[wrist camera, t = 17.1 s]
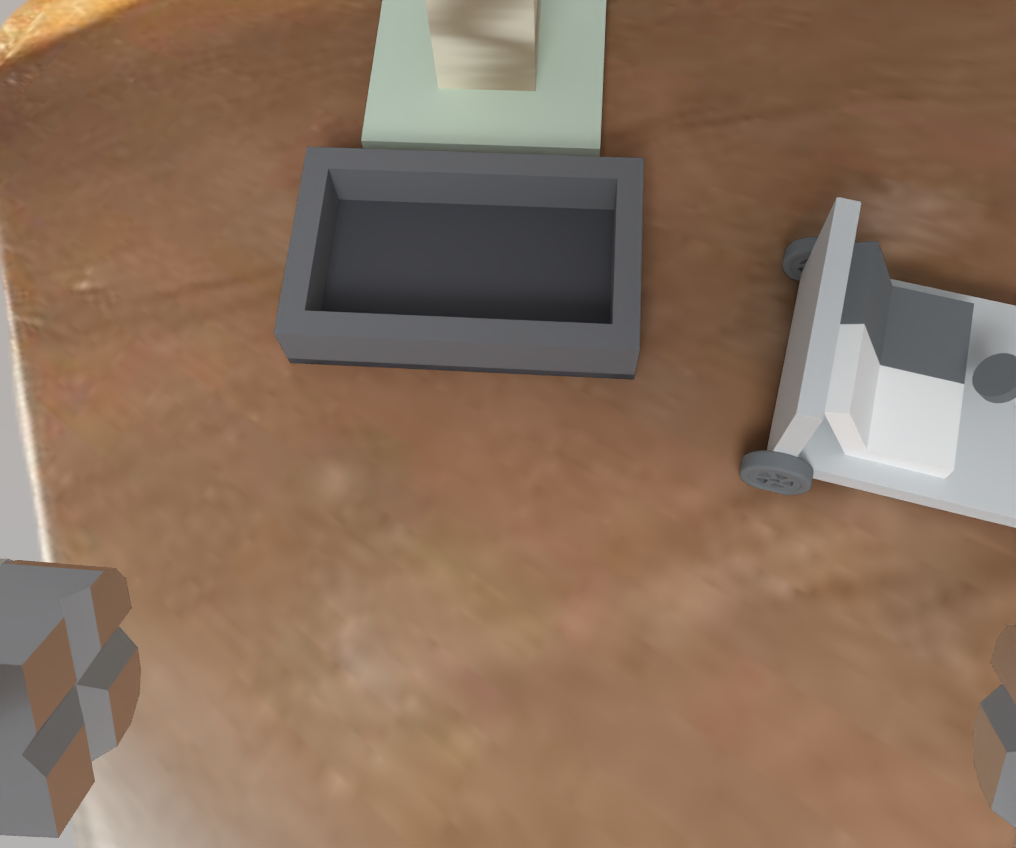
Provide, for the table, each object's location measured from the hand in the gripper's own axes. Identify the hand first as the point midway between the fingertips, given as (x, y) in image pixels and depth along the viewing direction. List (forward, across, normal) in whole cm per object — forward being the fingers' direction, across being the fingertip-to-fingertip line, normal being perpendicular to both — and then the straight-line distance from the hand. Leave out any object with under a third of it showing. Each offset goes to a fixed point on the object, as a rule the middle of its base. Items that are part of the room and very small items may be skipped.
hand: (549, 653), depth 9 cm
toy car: (+34, -18, +11) cm, 40 cm away
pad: (+47, +5, -3) cm, 48 cm away
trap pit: (+38, +5, +6) cm, 39 cm away
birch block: (+46, +5, -4) cm, 47 cm away
